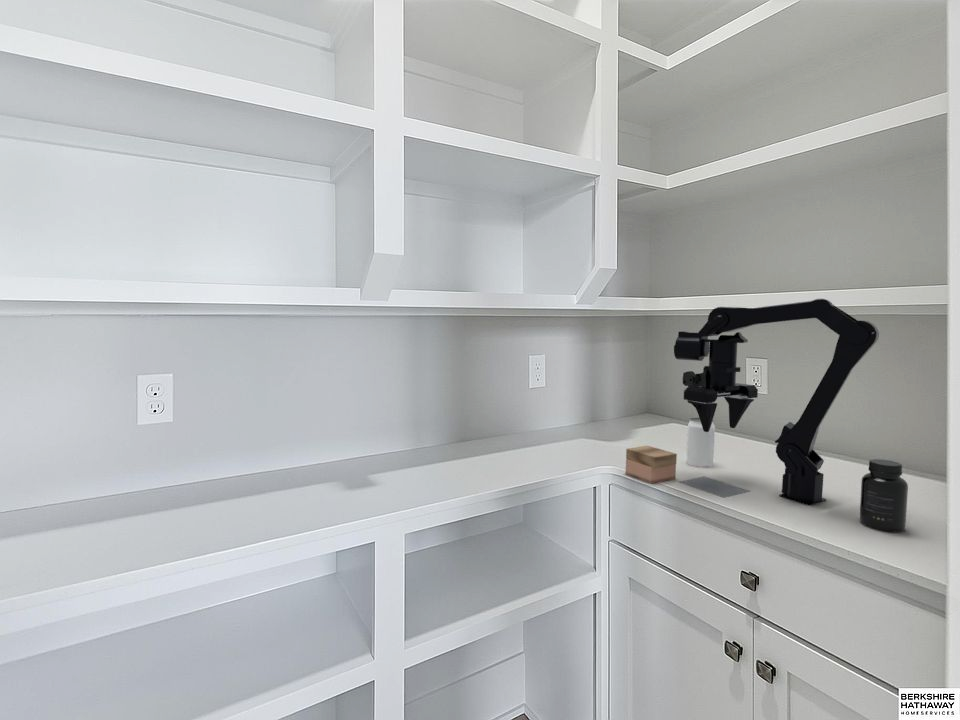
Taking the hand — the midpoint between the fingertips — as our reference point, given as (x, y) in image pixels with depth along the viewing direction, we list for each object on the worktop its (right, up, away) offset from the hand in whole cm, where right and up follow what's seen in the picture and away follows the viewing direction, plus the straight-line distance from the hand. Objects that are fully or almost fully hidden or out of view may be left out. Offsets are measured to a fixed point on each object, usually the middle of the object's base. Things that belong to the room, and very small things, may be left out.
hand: (719, 429), depth 121 cm
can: (+2, -12, +16) cm, 20 cm away
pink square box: (-14, -12, +4) cm, 19 cm away
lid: (-14, -8, +4) cm, 17 cm away
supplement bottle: (+19, -15, -24) cm, 34 cm away
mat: (-3, -13, -3) cm, 13 cm away
